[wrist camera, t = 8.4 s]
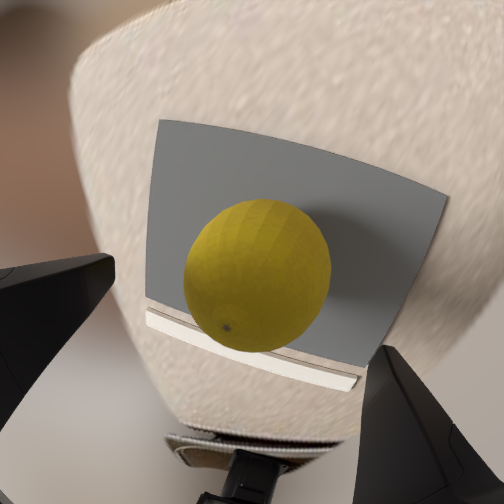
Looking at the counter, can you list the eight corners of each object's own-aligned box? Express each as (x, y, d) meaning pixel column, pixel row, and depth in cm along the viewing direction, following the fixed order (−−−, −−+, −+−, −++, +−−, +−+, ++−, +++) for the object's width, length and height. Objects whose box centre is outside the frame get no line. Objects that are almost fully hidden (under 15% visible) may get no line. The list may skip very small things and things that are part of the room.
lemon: (318, 176, 13) (307, 212, 6) (338, 278, 15) (337, 392, 7) (216, 199, 15) (118, 252, 8) (243, 291, 16) (183, 390, 9)
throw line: (348, 388, 18) (348, 391, 18) (148, 322, 20) (146, 325, 20) (356, 375, 17) (357, 379, 17) (148, 307, 20) (145, 310, 19)
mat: (364, 363, 17) (364, 367, 17) (148, 293, 19) (145, 296, 19) (444, 194, 12) (447, 195, 12) (163, 119, 14) (159, 119, 14)
